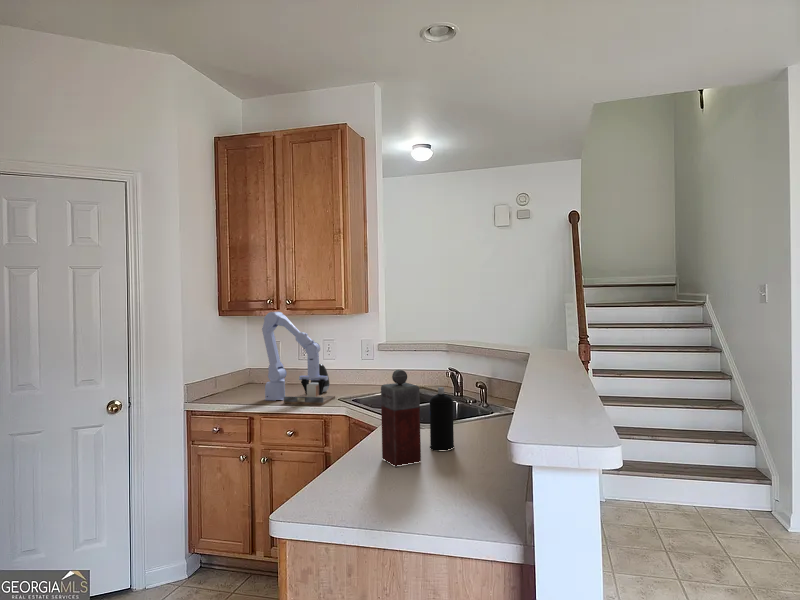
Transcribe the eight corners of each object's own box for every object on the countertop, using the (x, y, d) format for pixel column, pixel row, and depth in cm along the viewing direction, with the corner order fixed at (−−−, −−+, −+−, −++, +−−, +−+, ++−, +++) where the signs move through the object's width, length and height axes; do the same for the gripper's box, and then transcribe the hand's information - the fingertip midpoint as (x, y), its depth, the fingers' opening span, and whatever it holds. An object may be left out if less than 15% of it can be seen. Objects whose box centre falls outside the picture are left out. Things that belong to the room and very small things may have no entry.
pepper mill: (403, 453, 170) (402, 366, 170) (421, 462, 161) (419, 370, 160) (378, 457, 166) (376, 368, 166) (395, 467, 156) (393, 372, 156)
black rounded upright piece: (331, 390, 290) (331, 362, 290) (327, 393, 279) (326, 365, 279) (313, 390, 291) (312, 362, 291) (308, 393, 280) (307, 365, 280)
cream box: (307, 399, 261) (306, 384, 261) (312, 396, 267) (312, 382, 267) (316, 399, 259) (316, 385, 259) (321, 396, 266) (321, 382, 266)
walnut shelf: (283, 403, 255) (283, 396, 255) (298, 397, 272) (298, 390, 272) (322, 404, 250) (322, 397, 250) (335, 397, 267) (335, 391, 267)
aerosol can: (459, 449, 174) (458, 388, 174) (438, 453, 170) (437, 390, 170) (445, 443, 181) (444, 384, 181) (425, 447, 177) (423, 387, 177)
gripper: (329, 366, 266) (330, 393, 266) (303, 366, 269) (303, 392, 269) (324, 368, 259) (325, 396, 259) (297, 367, 262) (297, 395, 262)
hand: (313, 394), depth 263 cm, fingers open, 7 cm apart
